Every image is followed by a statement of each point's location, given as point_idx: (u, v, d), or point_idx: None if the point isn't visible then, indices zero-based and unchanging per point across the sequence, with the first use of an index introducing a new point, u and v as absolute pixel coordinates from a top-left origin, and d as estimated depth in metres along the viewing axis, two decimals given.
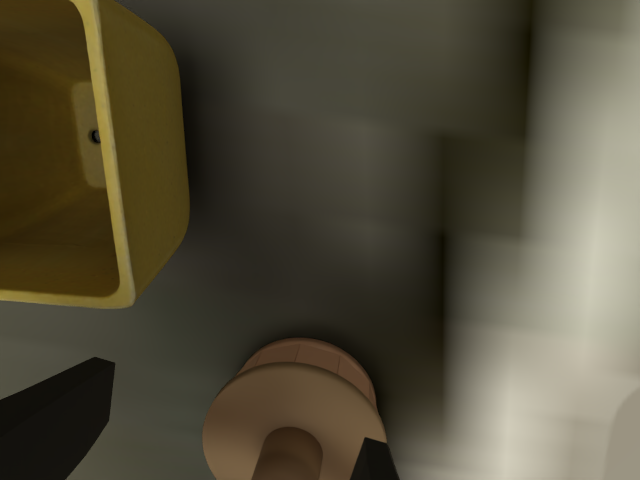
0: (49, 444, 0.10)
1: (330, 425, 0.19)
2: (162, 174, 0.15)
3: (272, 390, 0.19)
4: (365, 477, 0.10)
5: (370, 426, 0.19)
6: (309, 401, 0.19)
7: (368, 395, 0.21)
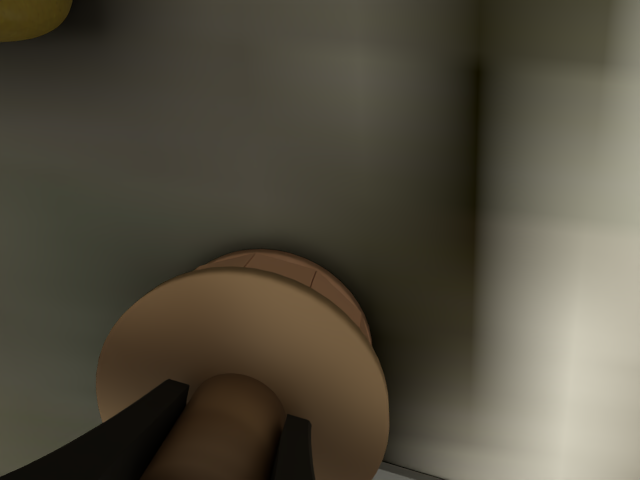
0: (138, 471, 0.10)
1: (297, 369, 0.12)
2: None
3: (200, 311, 0.12)
4: (278, 451, 0.10)
5: (361, 370, 0.12)
6: (261, 329, 0.12)
7: None
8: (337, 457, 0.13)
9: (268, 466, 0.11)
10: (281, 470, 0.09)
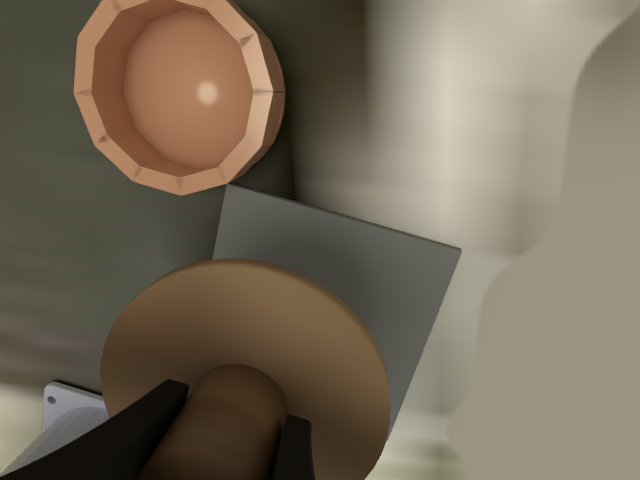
0: (137, 471, 0.10)
1: (294, 355, 0.12)
2: None
3: (196, 304, 0.12)
4: (278, 451, 0.10)
5: (358, 352, 0.12)
6: (255, 318, 0.12)
7: (264, 37, 0.17)
8: (341, 441, 0.13)
9: (270, 451, 0.11)
10: (281, 470, 0.09)
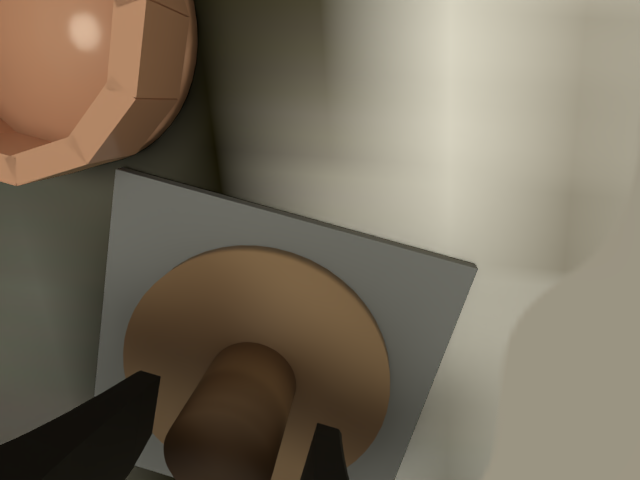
0: (103, 461, 0.10)
1: (302, 334, 0.13)
2: None
3: (212, 287, 0.13)
4: (311, 461, 0.10)
5: (360, 330, 0.13)
6: (267, 299, 0.13)
7: None
8: (345, 413, 0.14)
9: (281, 417, 0.12)
10: None
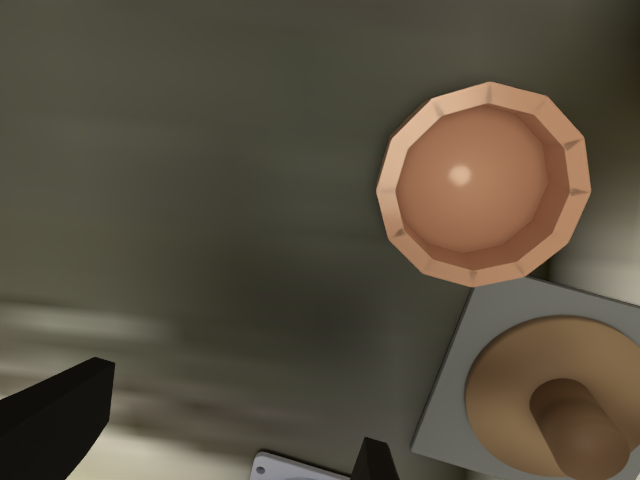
0: (50, 444, 0.10)
1: (604, 374, 0.20)
2: None
3: (547, 343, 0.20)
4: (365, 477, 0.10)
5: None
6: (585, 351, 0.20)
7: None
8: (623, 426, 0.21)
9: None
10: None
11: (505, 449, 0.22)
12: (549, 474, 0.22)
